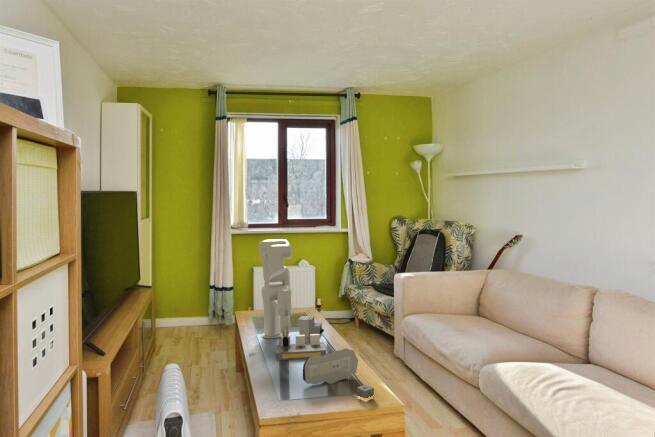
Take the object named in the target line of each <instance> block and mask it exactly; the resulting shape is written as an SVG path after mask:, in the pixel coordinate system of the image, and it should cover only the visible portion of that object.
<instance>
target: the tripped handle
mask: <svg viewBox="0 0 655 437" xmlns="http://www.w3.org/2000/svg"><path fill="white" fill-rule="evenodd" d="M288 338H289V346H291V345H290V344H291V335H288ZM280 345H281V346H283V335H282V336H281V337H280Z"/></svg>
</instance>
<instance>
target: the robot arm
mask: <svg viewBox="0 0 655 437" xmlns="http://www.w3.org/2000/svg"><path fill="white" fill-rule="evenodd" d="M292 248H293V247H292V246H291V243H290V242H289V241H288V239H283V238H281V239H280V238H279V239H278V238H277V239H265V240H261V241H260V242H259V243H258V251H259V255H260V257H261V259H262V273H263V274H262V275H263V281H264V283H263V284H264V285H263V287H262V288H261V296H262V298H261V299H262V304H263V324H264V327H263V328H264V329H263V330H264V332H263V333H261V337H262V338H264V339H270V340H271V339H278V338H281V336H283V346H289V338H288V336H289V334H290V328H291V327H290V325H291V324H290V323H291V318H290V316H292V314H293V311H292V310H293V309H292V307H293V306H292V292H293V291H292V289H291V279H290V278H291V275H290V270H289V268H288V267H287V266H285V261H284V260H289V259H291V258H292V257H293V249H292ZM279 282H280V283H279ZM270 283H273V284H270ZM276 283H277V284H276Z"/></svg>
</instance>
